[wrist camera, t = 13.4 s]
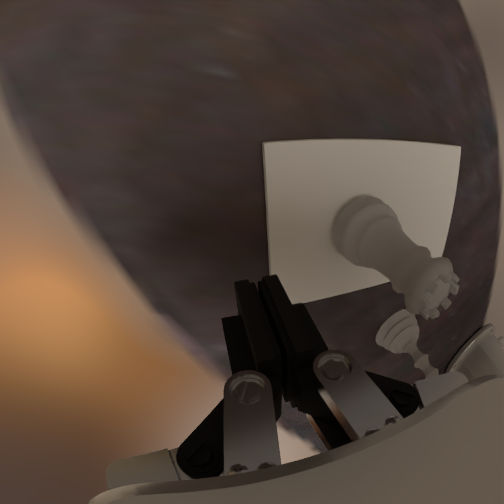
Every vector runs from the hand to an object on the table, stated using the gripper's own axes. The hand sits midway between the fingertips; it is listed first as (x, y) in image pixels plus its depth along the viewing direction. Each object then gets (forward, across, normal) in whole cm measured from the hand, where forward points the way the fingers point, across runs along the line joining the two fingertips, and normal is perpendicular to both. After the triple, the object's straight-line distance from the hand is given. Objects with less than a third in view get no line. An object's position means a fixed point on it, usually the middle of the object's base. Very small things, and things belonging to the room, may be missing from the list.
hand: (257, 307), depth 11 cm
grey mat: (+6, -10, 0) cm, 12 cm away
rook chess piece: (+6, -8, 0) cm, 10 cm away
